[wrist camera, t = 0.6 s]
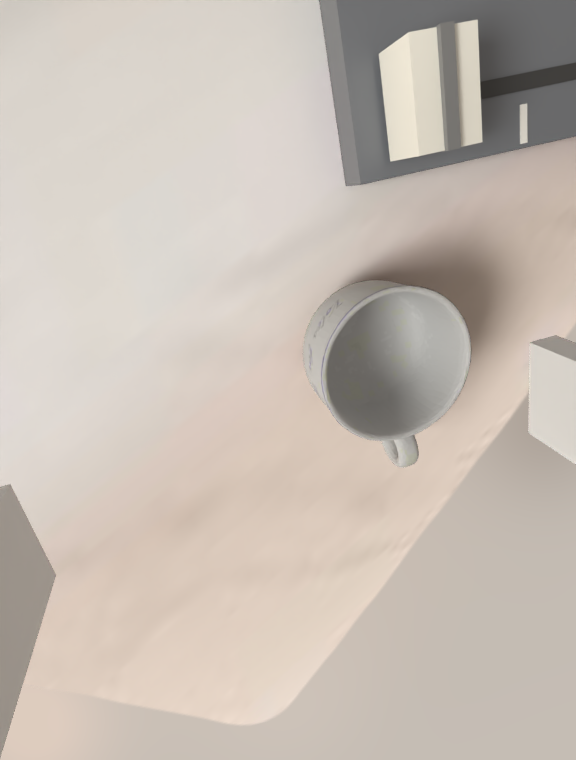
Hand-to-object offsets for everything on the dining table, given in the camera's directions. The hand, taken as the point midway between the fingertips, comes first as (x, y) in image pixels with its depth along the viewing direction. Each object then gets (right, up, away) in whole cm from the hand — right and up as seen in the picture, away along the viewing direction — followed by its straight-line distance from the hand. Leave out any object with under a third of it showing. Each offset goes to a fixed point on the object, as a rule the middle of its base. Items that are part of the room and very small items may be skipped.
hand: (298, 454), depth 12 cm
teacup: (+5, +4, +27) cm, 28 cm away
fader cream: (+8, +19, +18) cm, 27 cm away
